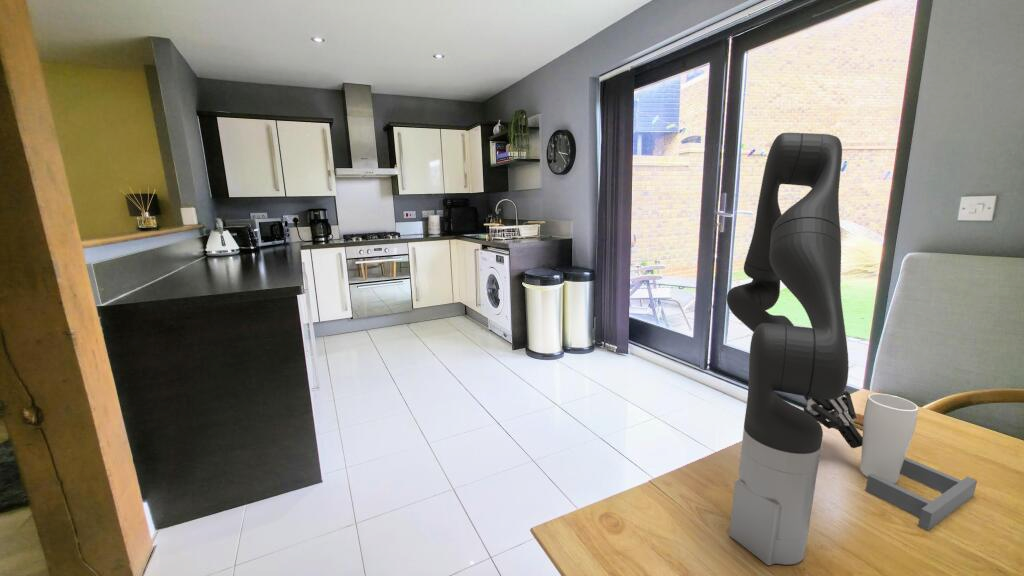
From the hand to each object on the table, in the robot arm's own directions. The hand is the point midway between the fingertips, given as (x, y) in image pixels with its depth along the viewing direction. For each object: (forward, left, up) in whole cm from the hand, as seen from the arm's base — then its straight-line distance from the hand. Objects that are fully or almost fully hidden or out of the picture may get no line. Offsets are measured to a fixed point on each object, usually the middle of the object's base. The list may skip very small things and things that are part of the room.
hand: (859, 446), depth 77 cm
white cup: (0, -3, -5) cm, 6 cm away
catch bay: (0, -9, -4) cm, 10 cm away
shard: (+20, +5, -5) cm, 21 cm away
